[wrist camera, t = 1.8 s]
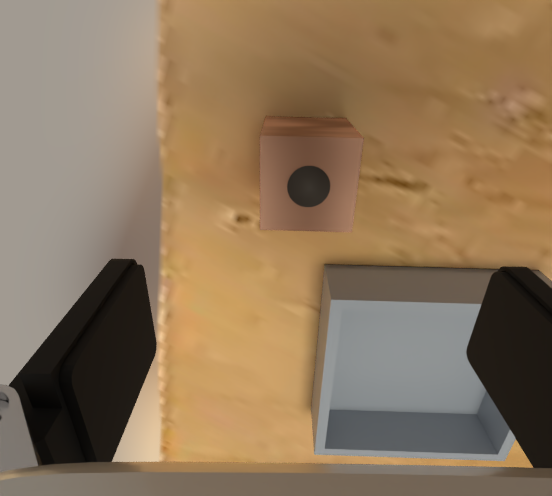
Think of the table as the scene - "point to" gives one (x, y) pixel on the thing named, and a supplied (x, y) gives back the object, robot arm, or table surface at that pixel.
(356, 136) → the bored block
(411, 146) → the table surface
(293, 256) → the table surface
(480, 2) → the table surface
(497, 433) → the tray
